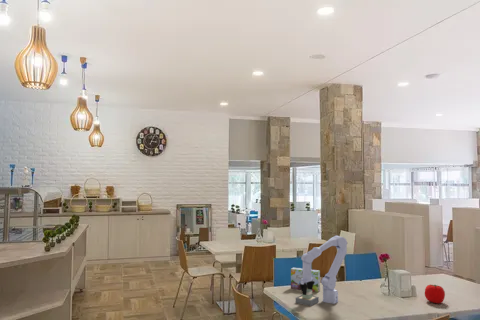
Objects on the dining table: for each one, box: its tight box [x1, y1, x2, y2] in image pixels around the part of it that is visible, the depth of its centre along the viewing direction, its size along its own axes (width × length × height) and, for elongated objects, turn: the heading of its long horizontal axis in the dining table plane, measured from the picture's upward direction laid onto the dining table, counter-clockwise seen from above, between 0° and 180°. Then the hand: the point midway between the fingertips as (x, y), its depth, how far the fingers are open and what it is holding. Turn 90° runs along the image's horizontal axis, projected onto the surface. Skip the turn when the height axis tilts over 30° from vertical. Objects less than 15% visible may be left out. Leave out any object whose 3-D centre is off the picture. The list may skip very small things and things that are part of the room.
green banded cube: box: [301, 289, 313, 299], centre depth 262 cm, size 5×5×5 cm
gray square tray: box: [295, 294, 320, 307], centre depth 262 cm, size 11×11×4 cm
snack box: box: [290, 267, 321, 293], centre depth 297 cm, size 21×6×15 cm, turn 62°
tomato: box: [424, 284, 446, 304], centre depth 267 cm, size 12×13×12 cm
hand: (307, 293), depth 262 cm, fingers open, 7 cm apart
